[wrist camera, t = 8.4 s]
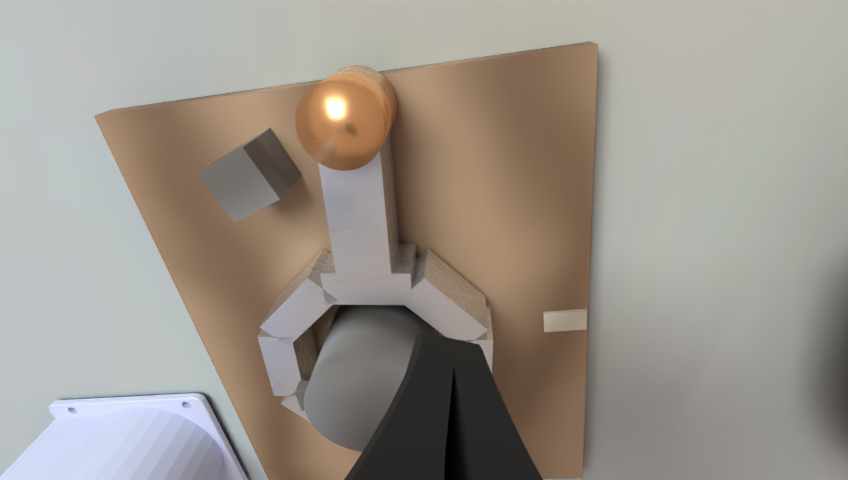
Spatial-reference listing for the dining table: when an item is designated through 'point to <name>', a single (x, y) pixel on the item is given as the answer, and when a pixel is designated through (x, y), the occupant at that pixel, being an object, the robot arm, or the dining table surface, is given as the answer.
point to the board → (417, 224)
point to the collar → (360, 236)
